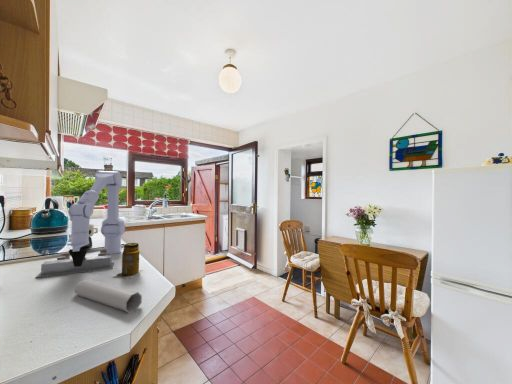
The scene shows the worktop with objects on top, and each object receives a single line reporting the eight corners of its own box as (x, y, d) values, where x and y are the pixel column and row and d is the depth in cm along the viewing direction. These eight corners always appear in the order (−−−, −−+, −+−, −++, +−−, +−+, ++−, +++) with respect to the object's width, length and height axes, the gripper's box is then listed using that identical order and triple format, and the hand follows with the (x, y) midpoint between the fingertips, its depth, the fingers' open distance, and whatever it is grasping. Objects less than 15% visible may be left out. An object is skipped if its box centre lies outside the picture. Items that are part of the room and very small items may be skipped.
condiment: (143, 270, 90) (144, 242, 90) (131, 278, 82) (132, 247, 82) (126, 270, 90) (127, 241, 91) (112, 277, 82) (113, 246, 82)
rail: (44, 271, 85) (45, 261, 85) (111, 263, 96) (111, 254, 96) (40, 274, 81) (41, 264, 81) (110, 266, 93) (110, 257, 93)
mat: (43, 271, 86) (43, 270, 86) (114, 263, 98) (114, 262, 98) (35, 278, 79) (35, 277, 79) (112, 268, 91) (112, 267, 91)
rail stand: (57, 263, 96) (57, 253, 96) (110, 257, 106) (111, 248, 106) (50, 269, 88) (51, 258, 88) (109, 262, 98) (109, 253, 98)
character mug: (72, 250, 116) (72, 226, 116) (73, 247, 122) (74, 224, 122) (97, 248, 122) (97, 225, 122) (97, 245, 128) (98, 223, 128)
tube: (67, 285, 66) (122, 302, 57) (86, 274, 71) (139, 288, 62) (73, 299, 68) (128, 317, 59) (91, 287, 73) (144, 303, 63)
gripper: (72, 229, 93) (71, 260, 93) (62, 235, 81) (61, 271, 80) (92, 228, 97) (91, 258, 97) (86, 234, 84) (85, 269, 84)
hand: (79, 264), depth 89 cm, fingers closed on rail, 4 cm apart
